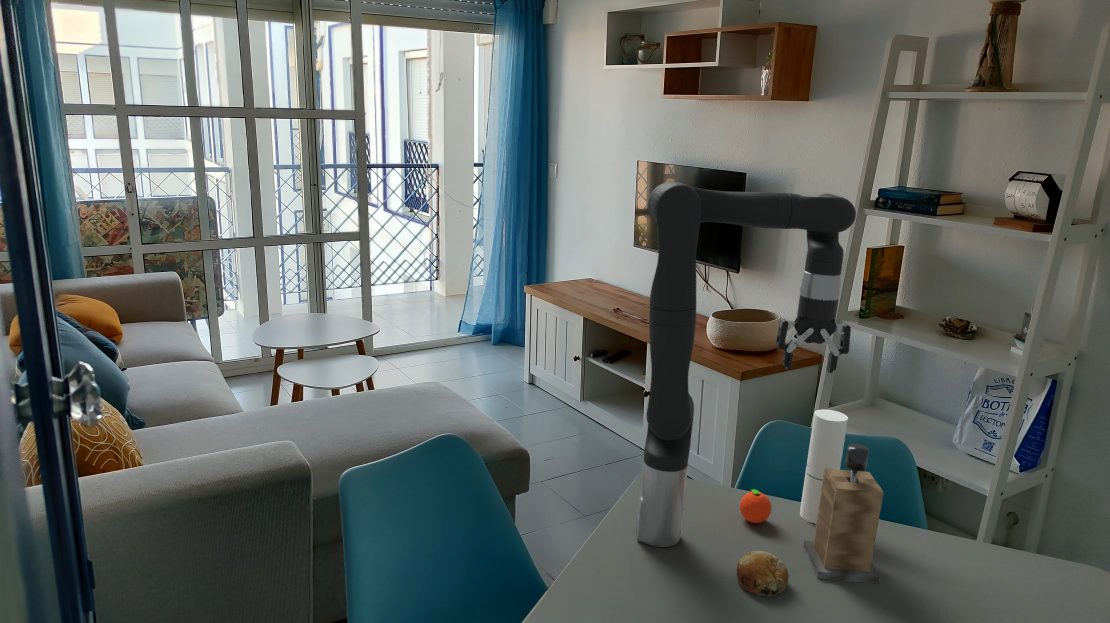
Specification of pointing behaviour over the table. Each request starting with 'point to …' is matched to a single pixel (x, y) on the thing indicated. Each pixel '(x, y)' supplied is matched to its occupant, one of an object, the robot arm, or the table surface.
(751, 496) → the clementine
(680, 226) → the robot arm
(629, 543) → the table surface
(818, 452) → the cylindrical container
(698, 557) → the table surface
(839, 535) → the box
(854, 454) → the plunger
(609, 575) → the table surface
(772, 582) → the bread roll
